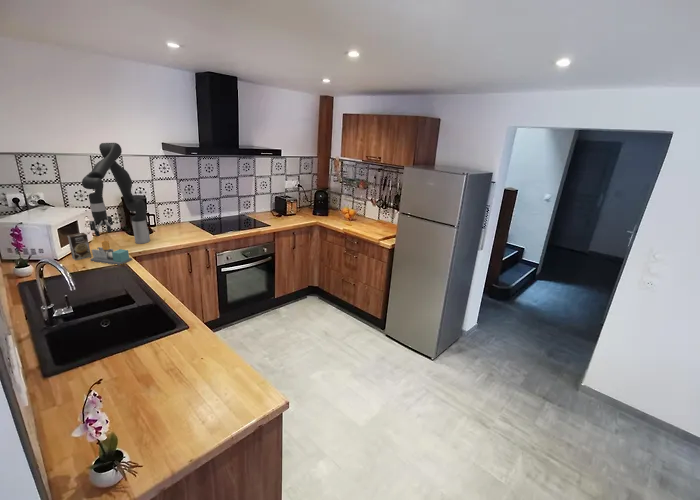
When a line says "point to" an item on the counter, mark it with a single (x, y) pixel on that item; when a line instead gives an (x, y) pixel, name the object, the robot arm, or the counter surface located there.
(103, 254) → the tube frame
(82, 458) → the counter surface
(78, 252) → the coffee box
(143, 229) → the robot arm
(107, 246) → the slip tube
